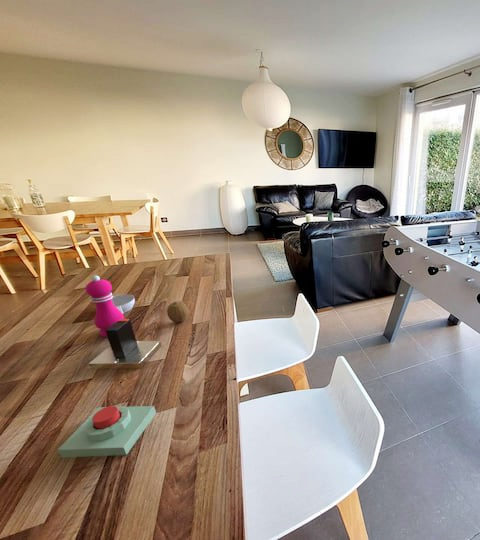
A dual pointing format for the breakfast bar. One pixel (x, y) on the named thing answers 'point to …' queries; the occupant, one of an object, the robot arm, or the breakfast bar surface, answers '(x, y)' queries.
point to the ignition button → (106, 417)
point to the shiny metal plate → (131, 361)
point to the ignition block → (109, 434)
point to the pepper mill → (103, 304)
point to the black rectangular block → (121, 338)
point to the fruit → (177, 311)
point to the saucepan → (123, 302)
